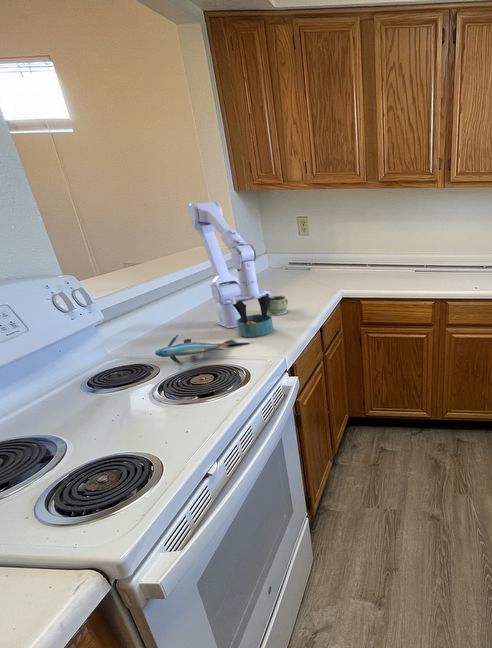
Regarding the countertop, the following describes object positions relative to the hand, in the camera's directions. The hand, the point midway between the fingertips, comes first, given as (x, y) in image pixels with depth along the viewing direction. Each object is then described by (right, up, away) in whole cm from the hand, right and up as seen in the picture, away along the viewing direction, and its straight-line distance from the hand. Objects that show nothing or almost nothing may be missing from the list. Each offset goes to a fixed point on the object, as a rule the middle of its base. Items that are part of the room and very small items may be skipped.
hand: (255, 319), depth 148 cm
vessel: (0, +6, +26) cm, 27 cm away
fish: (-9, -14, -18) cm, 24 cm away
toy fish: (0, -4, +2) cm, 4 cm away
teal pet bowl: (0, -4, +2) cm, 5 cm away
